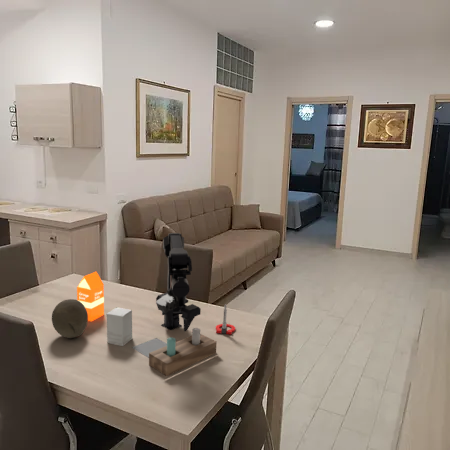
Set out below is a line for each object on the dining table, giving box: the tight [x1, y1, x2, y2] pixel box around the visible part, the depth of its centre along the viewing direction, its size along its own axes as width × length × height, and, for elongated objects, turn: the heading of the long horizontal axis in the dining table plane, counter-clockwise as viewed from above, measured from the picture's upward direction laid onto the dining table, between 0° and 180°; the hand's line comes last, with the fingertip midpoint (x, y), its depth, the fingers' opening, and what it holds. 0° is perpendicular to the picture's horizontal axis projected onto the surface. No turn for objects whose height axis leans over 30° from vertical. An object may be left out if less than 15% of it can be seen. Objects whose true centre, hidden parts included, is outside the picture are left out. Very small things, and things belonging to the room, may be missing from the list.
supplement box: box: [106, 306, 133, 347], centre depth 168 cm, size 7×7×13 cm
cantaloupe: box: [51, 299, 89, 339], centre depth 170 cm, size 14×14×15 cm
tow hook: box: [215, 304, 236, 335], centre depth 182 cm, size 8×13×9 cm
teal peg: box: [166, 337, 177, 357], centre depth 152 cm, size 3×3×10 cm
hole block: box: [148, 333, 217, 377], centre depth 156 cm, size 10×24×5 cm, turn 137°
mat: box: [131, 337, 167, 359], centre depth 164 cm, size 12×12×1 cm
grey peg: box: [191, 327, 201, 346], centre depth 160 cm, size 3×3×10 cm
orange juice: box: [76, 271, 105, 322], centre depth 189 cm, size 8×9×20 cm
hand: (177, 326), depth 156 cm, fingers open, 9 cm apart
